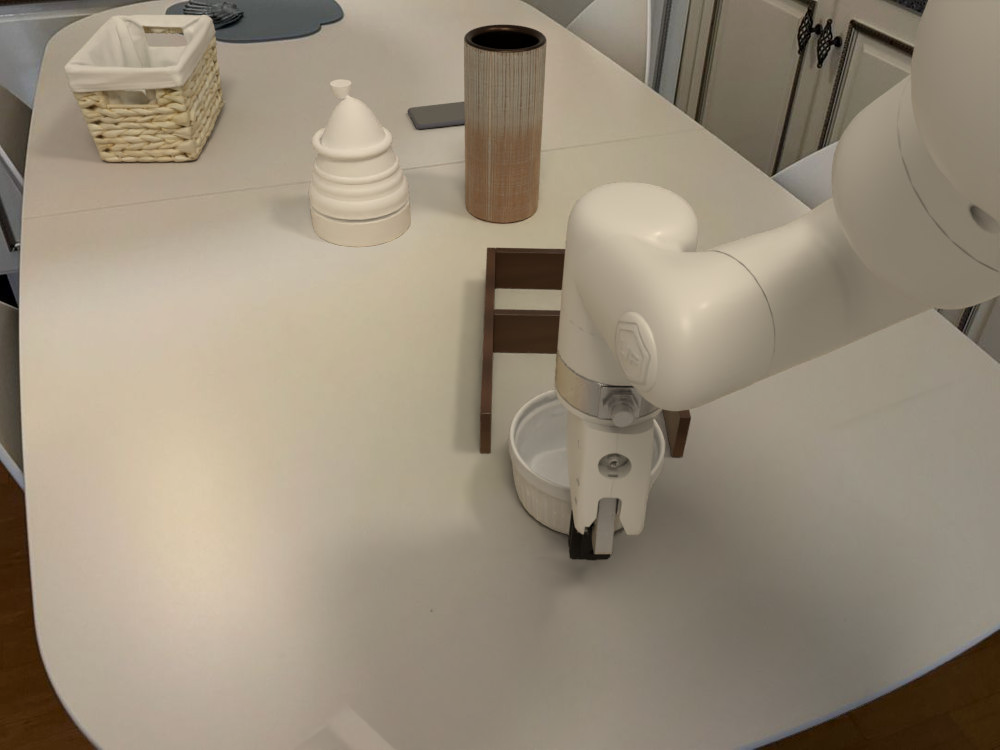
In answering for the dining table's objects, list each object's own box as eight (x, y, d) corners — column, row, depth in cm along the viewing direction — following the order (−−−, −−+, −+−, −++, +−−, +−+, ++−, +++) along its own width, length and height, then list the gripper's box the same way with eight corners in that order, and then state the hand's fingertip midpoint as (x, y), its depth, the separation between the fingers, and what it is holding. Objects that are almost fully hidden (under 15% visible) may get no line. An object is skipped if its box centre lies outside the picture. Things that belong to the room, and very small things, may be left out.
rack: (682, 457, 80) (691, 417, 77) (479, 453, 80) (480, 413, 77) (644, 286, 102) (650, 250, 99) (486, 283, 102) (486, 247, 99)
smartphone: (406, 107, 141) (493, 97, 145) (407, 113, 142) (493, 103, 145) (416, 125, 136) (506, 114, 139) (417, 131, 136) (506, 120, 140)
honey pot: (294, 218, 114) (274, 84, 102) (374, 190, 120) (364, 61, 109) (347, 257, 106) (332, 118, 95) (430, 225, 113) (425, 91, 101)
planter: (551, 215, 116) (561, 43, 101) (484, 230, 112) (485, 55, 98) (517, 184, 123) (523, 20, 108) (453, 197, 119) (450, 29, 105)
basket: (201, 167, 125) (178, 66, 116) (87, 168, 124) (56, 66, 115) (232, 104, 143) (215, 13, 134) (134, 104, 143) (110, 12, 133)
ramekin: (683, 489, 77) (696, 433, 72) (595, 577, 69) (604, 520, 65) (567, 422, 83) (573, 366, 79) (475, 495, 76) (475, 438, 71)
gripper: (690, 453, 50) (649, 634, 62) (653, 306, 62) (624, 482, 73) (562, 451, 50) (545, 633, 62) (549, 305, 61) (537, 482, 73)
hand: (588, 551), depth 67 cm, fingers closed
